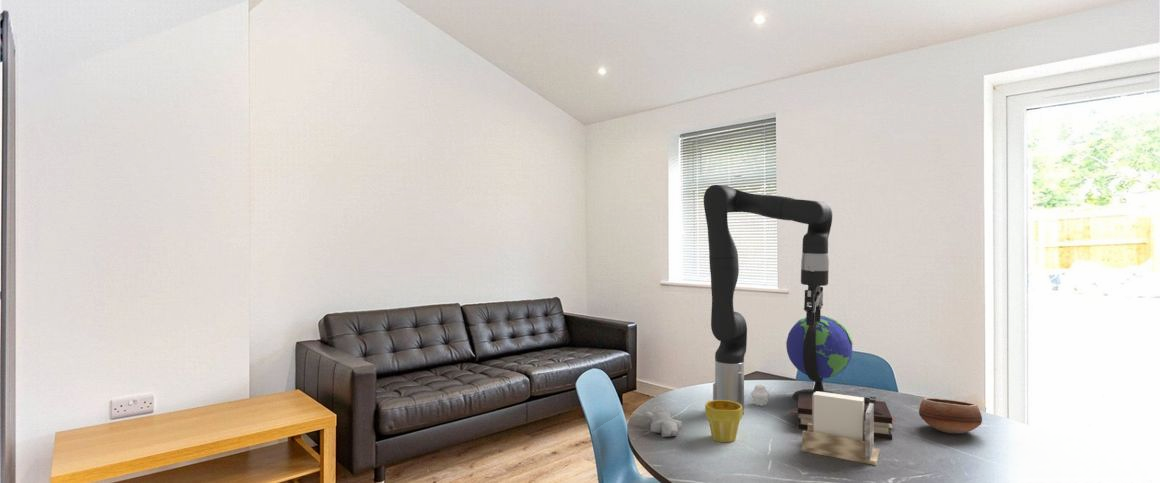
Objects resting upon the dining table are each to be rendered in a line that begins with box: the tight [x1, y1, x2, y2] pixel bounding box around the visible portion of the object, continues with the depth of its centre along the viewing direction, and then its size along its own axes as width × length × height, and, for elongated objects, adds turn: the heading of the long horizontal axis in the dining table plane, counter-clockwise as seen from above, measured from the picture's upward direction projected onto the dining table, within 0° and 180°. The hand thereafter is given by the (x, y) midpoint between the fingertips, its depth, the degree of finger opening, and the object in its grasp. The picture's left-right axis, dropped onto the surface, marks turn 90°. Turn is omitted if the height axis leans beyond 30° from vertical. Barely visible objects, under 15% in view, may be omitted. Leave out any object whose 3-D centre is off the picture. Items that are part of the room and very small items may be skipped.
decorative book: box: [789, 394, 896, 441], centre depth 174 cm, size 19×8×30 cm
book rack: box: [801, 403, 881, 466], centre depth 152 cm, size 18×10×13 cm, turn 57°
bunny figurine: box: [642, 409, 683, 438], centre depth 170 cm, size 10×5×15 cm
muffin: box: [750, 384, 771, 407], centre depth 195 cm, size 6×6×7 cm
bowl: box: [918, 397, 983, 434], centre depth 167 cm, size 16×16×10 cm
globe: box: [785, 315, 854, 401], centre depth 202 cm, size 22×22×30 cm
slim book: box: [812, 391, 864, 441], centre depth 153 cm, size 12×4×14 cm, turn 57°
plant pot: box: [704, 399, 743, 443], centre depth 163 cm, size 10×10×10 cm
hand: (813, 323), depth 167 cm, fingers open, 8 cm apart
